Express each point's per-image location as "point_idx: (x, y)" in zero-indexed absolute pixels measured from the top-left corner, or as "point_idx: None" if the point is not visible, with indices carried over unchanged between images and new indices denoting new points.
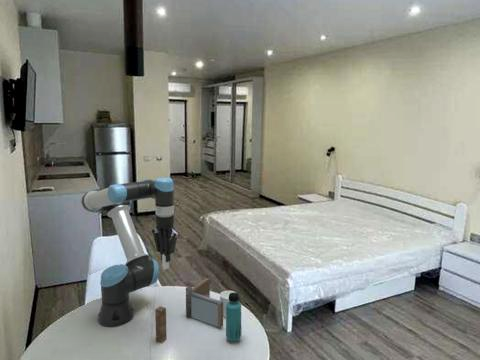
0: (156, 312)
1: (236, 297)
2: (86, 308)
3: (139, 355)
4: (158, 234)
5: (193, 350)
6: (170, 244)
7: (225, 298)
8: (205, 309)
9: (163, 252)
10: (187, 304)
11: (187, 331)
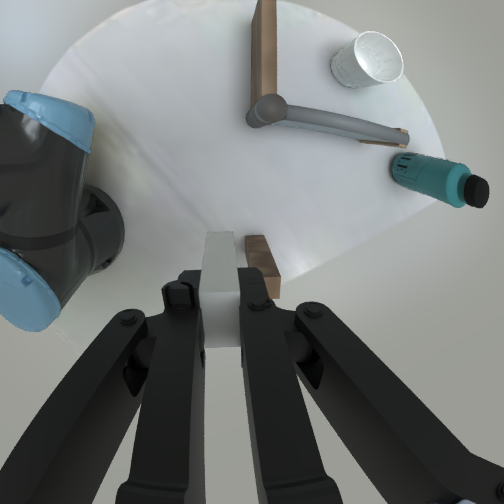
0: None
1: (485, 201)
2: None
3: None
4: (49, 496)
5: (341, 237)
6: (349, 440)
7: (385, 82)
8: (336, 131)
9: (203, 342)
10: (262, 125)
11: (292, 182)
